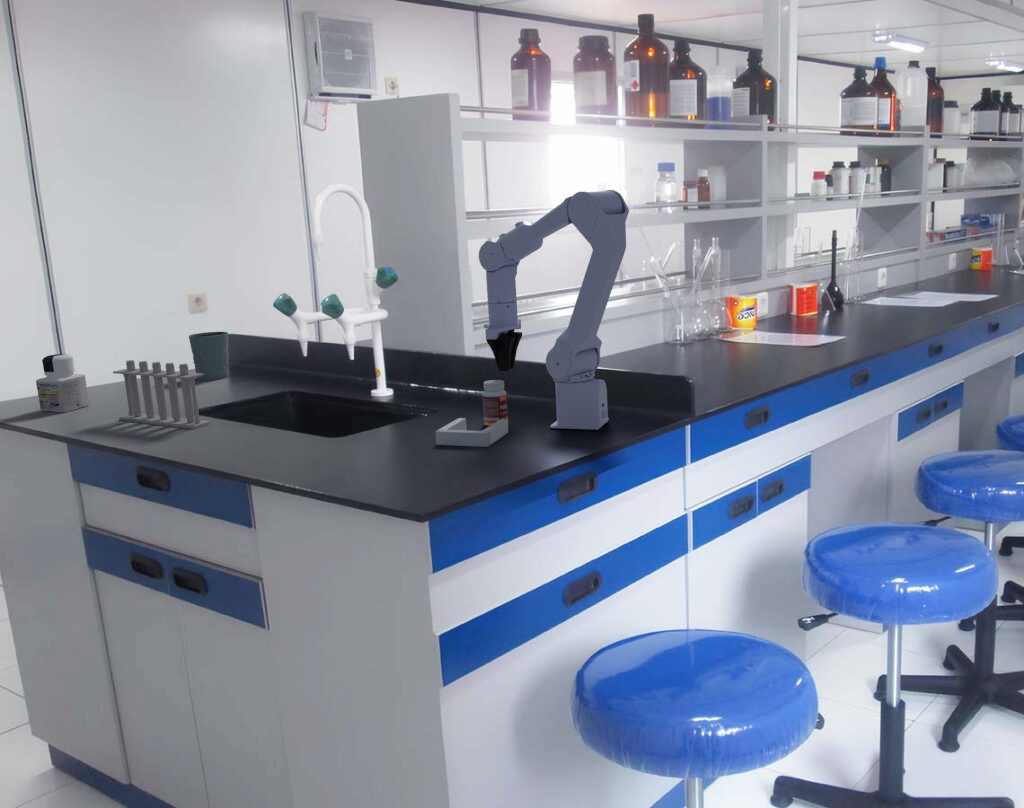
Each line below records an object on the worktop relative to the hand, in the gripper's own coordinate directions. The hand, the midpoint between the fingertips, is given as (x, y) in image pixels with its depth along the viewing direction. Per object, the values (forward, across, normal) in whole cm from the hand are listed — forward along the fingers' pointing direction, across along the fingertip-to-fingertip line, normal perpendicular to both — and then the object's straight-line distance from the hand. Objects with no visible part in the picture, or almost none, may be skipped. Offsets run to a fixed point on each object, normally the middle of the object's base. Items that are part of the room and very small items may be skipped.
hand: (506, 369), depth 190 cm
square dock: (+9, +18, 0) cm, 20 cm away
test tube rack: (+10, +15, -74) cm, 76 cm away
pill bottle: (+10, +7, 0) cm, 12 cm away
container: (+10, +6, -111) cm, 112 cm away
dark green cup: (+10, -34, -99) cm, 105 cm away
